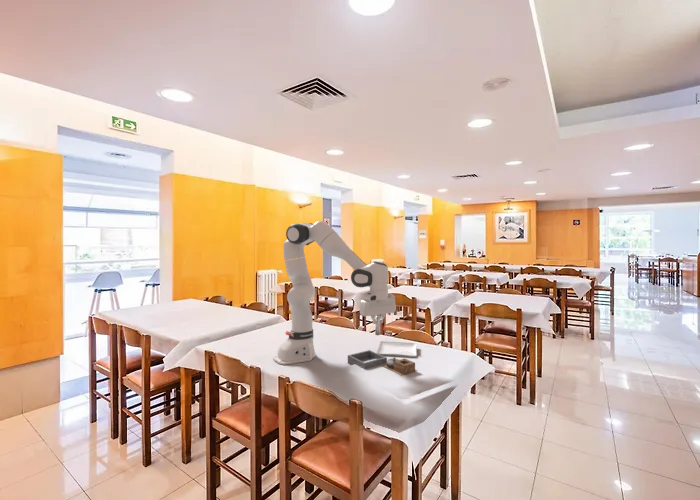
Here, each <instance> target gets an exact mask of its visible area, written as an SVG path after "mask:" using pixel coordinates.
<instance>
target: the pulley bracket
mask: <svg viewBox="0 0 700 500" xmlns="http://www.w3.org/2000/svg"><path fill="white" fill-rule="evenodd" d="M381 367H382V368H385V369H387V370H388V371H391V372H393V373H395V374H397V375H399V376H401V377H402V376H407V375H408V374H412V373H415V372H418V369H416V362H414V361H412V360H409V359H407V358H401V359H398V358H396V356H392V358H387V362H386V363H385V364H383V365H381Z"/></svg>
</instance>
